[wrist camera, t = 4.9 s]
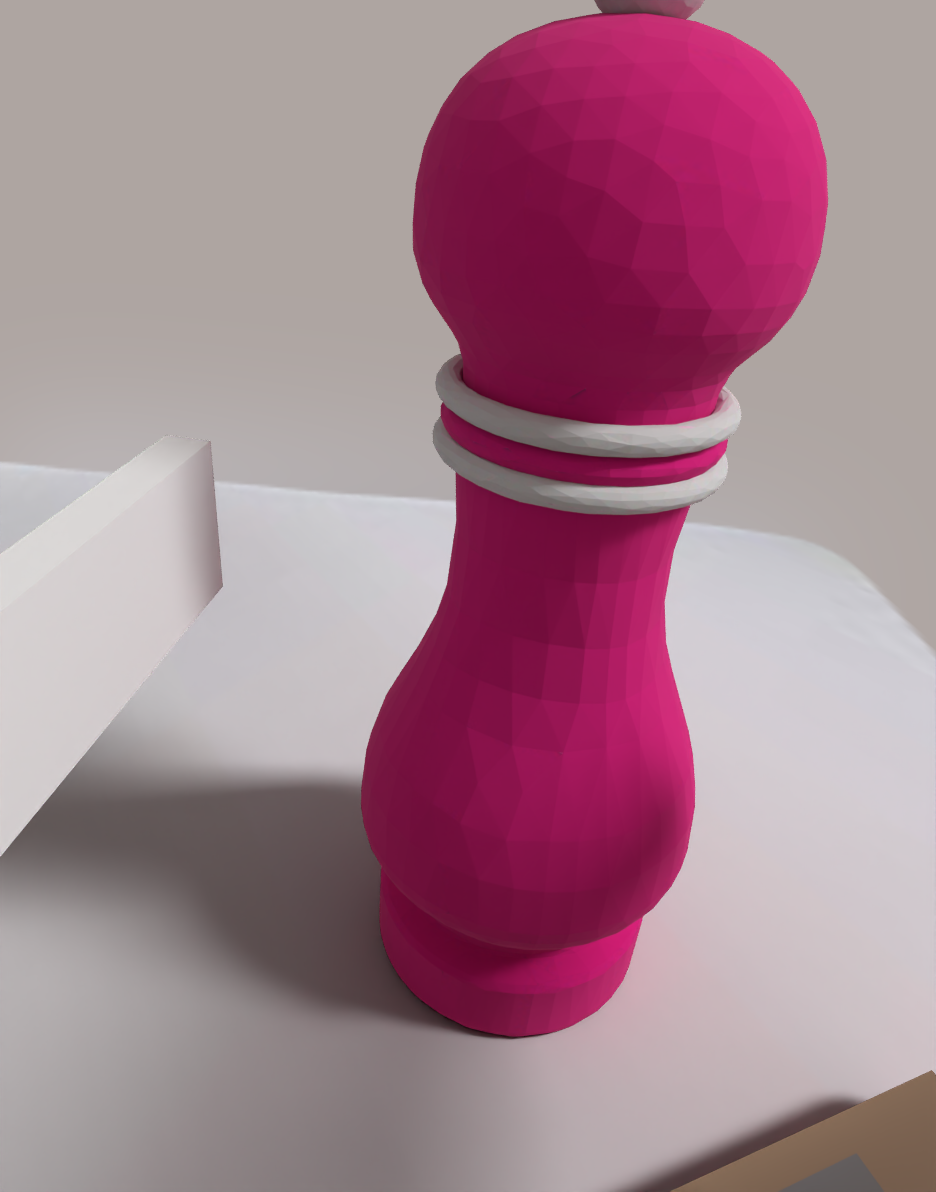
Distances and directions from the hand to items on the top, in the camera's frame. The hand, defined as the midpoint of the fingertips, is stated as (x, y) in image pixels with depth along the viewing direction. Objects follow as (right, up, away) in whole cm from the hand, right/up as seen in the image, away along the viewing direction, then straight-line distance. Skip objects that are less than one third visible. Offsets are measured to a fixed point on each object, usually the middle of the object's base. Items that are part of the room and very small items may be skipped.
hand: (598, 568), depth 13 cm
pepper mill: (-1, -9, +7) cm, 11 cm away
